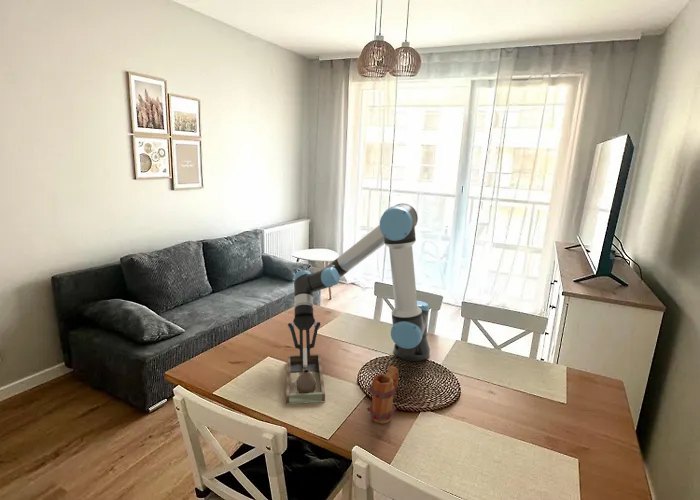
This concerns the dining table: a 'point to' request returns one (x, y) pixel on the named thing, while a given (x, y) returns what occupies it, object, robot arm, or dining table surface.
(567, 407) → the dining table surface
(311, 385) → the vase
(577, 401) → the dining table surface
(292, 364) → the box
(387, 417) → the mug
